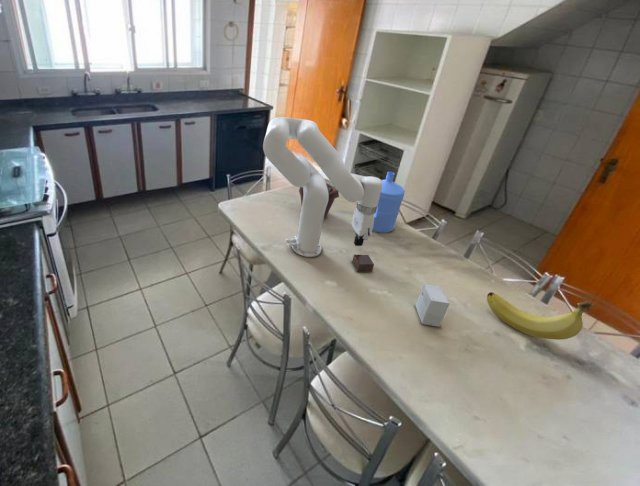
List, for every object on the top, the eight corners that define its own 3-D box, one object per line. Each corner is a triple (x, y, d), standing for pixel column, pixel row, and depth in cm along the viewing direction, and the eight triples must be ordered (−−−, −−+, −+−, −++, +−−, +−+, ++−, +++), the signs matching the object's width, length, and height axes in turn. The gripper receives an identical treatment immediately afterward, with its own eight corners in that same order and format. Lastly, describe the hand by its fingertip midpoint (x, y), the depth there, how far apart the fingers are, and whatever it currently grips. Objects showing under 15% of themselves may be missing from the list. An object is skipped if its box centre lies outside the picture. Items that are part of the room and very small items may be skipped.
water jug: (392, 220, 167) (407, 169, 154) (394, 236, 154) (411, 183, 141) (360, 213, 171) (372, 164, 159) (360, 229, 158) (373, 176, 145)
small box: (439, 327, 107) (450, 304, 102) (421, 324, 108) (431, 300, 103) (431, 309, 114) (441, 286, 109) (414, 306, 115) (423, 283, 110)
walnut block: (357, 272, 130) (359, 264, 128) (351, 262, 135) (353, 254, 133) (371, 272, 130) (374, 264, 128) (366, 262, 135) (368, 254, 134)
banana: (478, 309, 115) (501, 265, 106) (484, 302, 118) (507, 258, 109) (560, 358, 99) (596, 310, 90) (565, 349, 102) (600, 302, 93)
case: (338, 224, 161) (345, 192, 153) (297, 222, 161) (302, 189, 153) (330, 206, 177) (336, 176, 169) (293, 204, 177) (297, 174, 169)
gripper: (350, 198, 136) (343, 234, 144) (364, 216, 123) (355, 256, 131) (368, 198, 137) (360, 234, 145) (384, 216, 123) (374, 255, 131)
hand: (358, 244), depth 138 cm, fingers closed
